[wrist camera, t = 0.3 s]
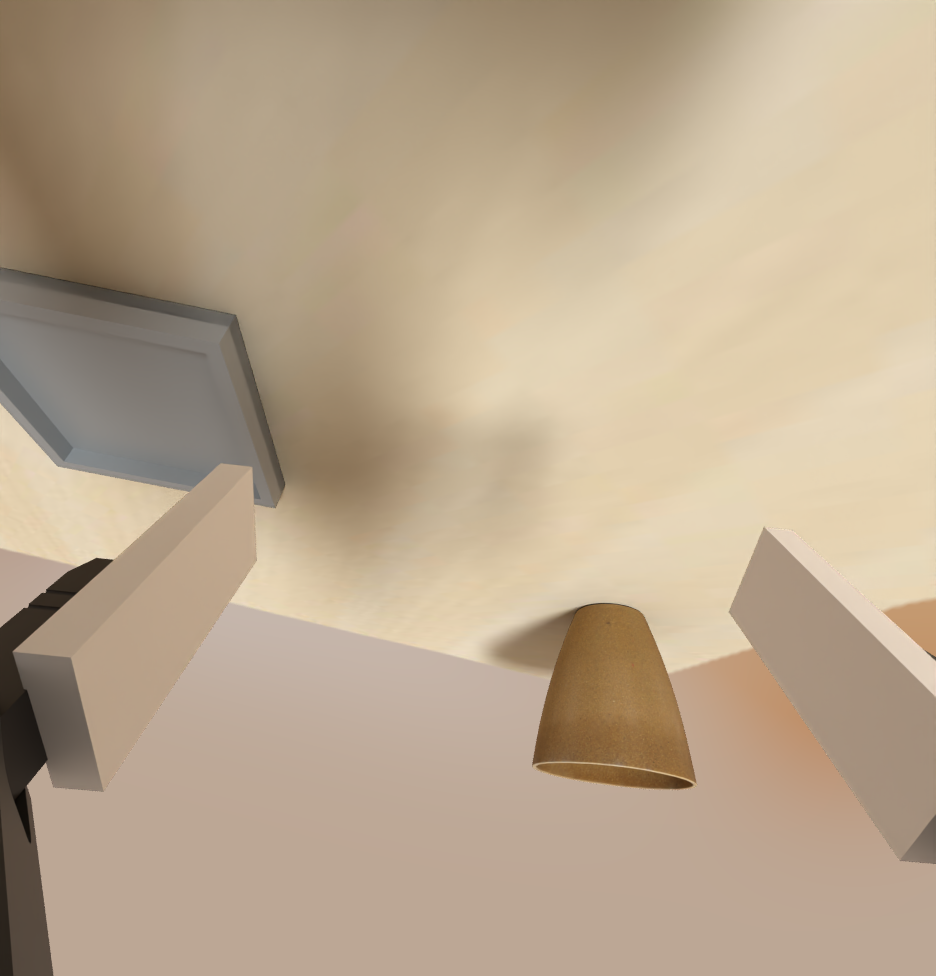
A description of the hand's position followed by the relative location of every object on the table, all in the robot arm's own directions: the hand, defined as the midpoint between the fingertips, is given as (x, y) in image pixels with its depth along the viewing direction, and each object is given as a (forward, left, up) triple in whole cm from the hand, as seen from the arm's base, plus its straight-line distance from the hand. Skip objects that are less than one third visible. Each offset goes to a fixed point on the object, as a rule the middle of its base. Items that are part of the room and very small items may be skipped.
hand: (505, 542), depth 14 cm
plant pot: (+43, +18, -17) cm, 49 cm away
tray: (+19, -25, -16) cm, 35 cm away
